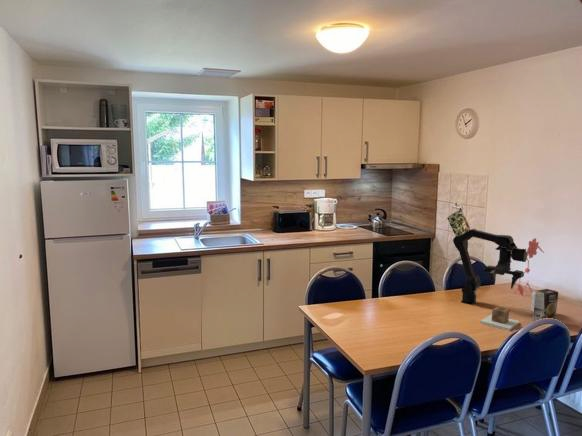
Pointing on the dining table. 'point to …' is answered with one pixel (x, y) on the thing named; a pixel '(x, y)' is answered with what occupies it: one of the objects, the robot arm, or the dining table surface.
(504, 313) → the cube
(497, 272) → the robot arm
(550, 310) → the coffee box
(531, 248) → the red branching piece
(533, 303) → the small box
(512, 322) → the plate
